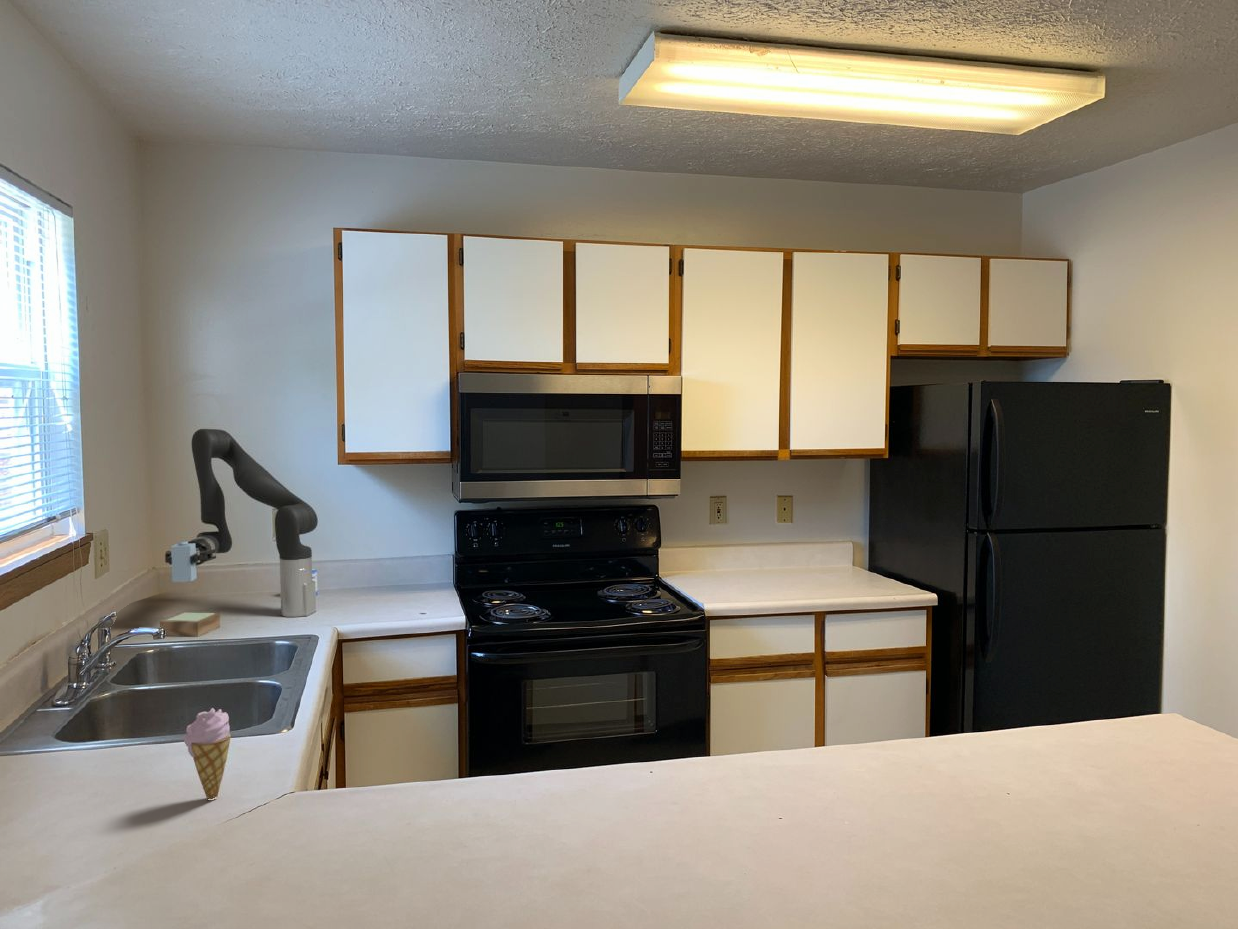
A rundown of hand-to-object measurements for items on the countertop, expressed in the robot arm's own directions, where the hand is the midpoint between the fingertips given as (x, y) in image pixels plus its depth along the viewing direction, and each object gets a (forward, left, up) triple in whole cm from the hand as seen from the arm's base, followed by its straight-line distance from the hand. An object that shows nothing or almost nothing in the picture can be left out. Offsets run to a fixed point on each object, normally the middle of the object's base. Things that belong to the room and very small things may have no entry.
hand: (181, 560), depth 248 cm
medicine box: (-13, -47, -20) cm, 53 cm away
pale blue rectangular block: (+1, -3, -6) cm, 7 cm away
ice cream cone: (-69, +102, -20) cm, 124 cm away
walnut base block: (-3, +1, -20) cm, 20 cm away
